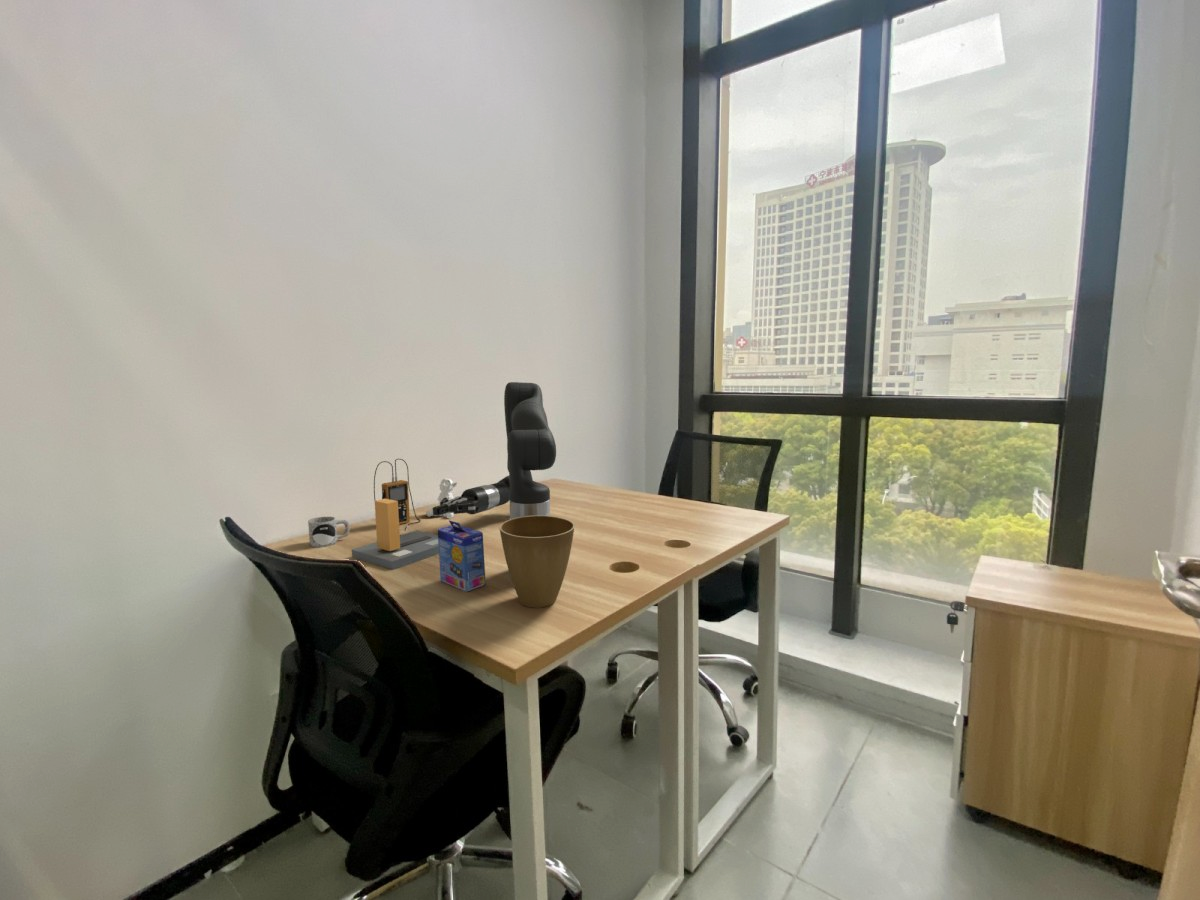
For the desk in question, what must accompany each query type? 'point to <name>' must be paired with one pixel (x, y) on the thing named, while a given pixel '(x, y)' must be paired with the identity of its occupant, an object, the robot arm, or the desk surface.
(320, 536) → the mug
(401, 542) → the switch panel
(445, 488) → the white creature statuette
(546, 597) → the plant pot
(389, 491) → the multimeter
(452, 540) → the ink cartridge box
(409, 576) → the desk surface
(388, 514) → the switch tab
